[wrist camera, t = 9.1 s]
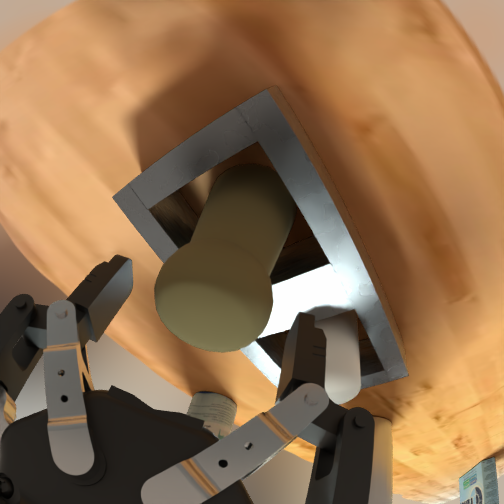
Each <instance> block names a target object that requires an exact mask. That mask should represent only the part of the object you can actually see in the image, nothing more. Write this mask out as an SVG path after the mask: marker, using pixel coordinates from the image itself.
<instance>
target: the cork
mask: <svg viewBox="0 0 504 504" xmlns="http://www.w3.org/2000/svg"><path fill="white" fill-rule="evenodd" d="M296 213H297V204H296V202H295V200H294V199H293V197H292V195H291V194H290V192H289V190H288V189H287V187H286V185H285V184H284V182H283V180H282V179H281V177H280V176H279V174H278V172H276V171H274V170H273V169H271V168H269V167H266V166H262V165H258V164H240V165H237V166H235V167H232V168H230V169H227V170H226V171H225V172H224V173H223V174H222V175H220V176H219V177H218V178H217V180H216V182H215V184H214V185H213V187H212V189H211V192H210V194H209V196H208V199H207V201H206V204H205V206H204V208H203V211H202V213H201V216H200V218H199V221H198V223H197V226H196V228H195V231H194V233H193V236H192V238H191V241H190V243H188V244H185V245H184V246H182V247H181V248H180V249H178V250H177V251H176V252H175V253H174V254H172V255H171V256H170V257H169V258H168V259H167V260H166V262H165V263H164V264H163V266H162V268H161V270H160V272H159V275H158V277H157V280H156V284H155V287H154V292H155V304H156V310H157V312H158V314H159V316H160V319H161V321H162V322H163V323H164V324H165V326H166V327H167V328H168V329H169V331H171V332H172V333H173V334H174V335H176V336H177V337H178V338H179V339H181V340H182V341H184V342H186V343H188V344H190V345H192V346H194V347H197V348H200V349H204V350H207V351H213V352H231V351H237V350H239V349H241V348H244V347H246V346H248V345H249V344H251V343H252V342H253V341H255V340H256V339H257V338H258V337H259V336H260V335H261V334H262V333H263V331H264V330H265V328H266V326H267V324H268V322H269V319H270V316H271V313H272V309H273V303H274V300H273V291H272V284H271V279H270V277H269V276H270V274H271V272H272V270H273V268H274V265H275V263H276V261H277V259H278V257H279V254H280V252H281V250H282V248H283V245H284V243H285V241H286V239H287V237H288V234H289V232H290V230H291V227H292V225H293V223H294V220H295V216H296Z"/></svg>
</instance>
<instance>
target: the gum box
mask: <svg viewBox="0 0 504 504" xmlns="http://www.w3.org/2000/svg"><path fill="white" fill-rule="evenodd" d="M459 488H460V504H499V497H498V483H497V473H496V464H495V457H493V458H490V459H487V460H484V461H481V462H480V463H479V464H478V465H476V466H475V467H474V468H473V469H471V470H470V471H469V472H467V473H466V474H465V475H463V476H462V477H461V478H459Z"/></svg>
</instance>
